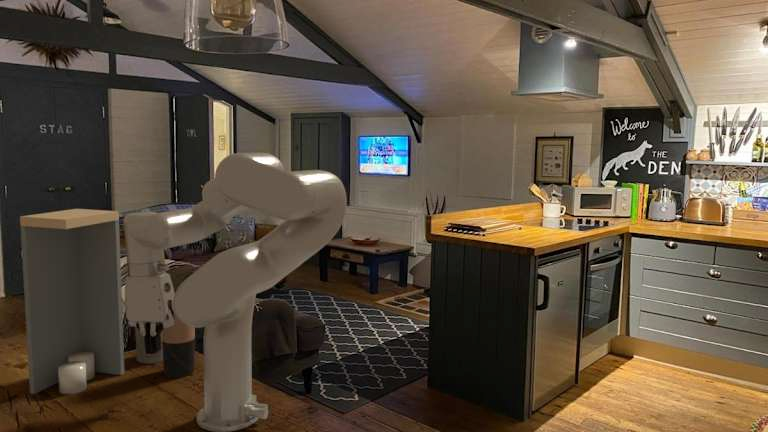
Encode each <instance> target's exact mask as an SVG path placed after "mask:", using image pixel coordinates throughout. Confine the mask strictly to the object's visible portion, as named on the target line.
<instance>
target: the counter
mask: <svg viewBox="0 0 768 432" xmlns="http://www.w3.org/2000/svg"><path fill="white" fill-rule="evenodd" d="M119 213H120V212H119V211H117V210H102V209H90V208H89V209H87V208H71V209H65V210H58V211H51V212H43V213H37V214H36V213H35V214H29V215H21V216H19V222H20V238H21V239H20V242H21V254H22V255H21V257H22V259H21V260H22V273H23V275H22V276H23V291H24V292H23V293H24V295H23V296H24V311H25V329H26V344H27V345H26V346H27V360H28V361H27V362H28V363H27V366H28V377H29V378H28V379H29V381H28V382H29V394H30V395H31V394H32V395H36V394H37V393H40V392H42V391H44V390H45V389H47V388H49V387H52V386H54V385H56V384H59V376H58V367H59V366H60V365H62V364H65V363H68V356H69V355H70V354H73V353H76V352H81V351H90V352H93V353H94V367H95V373H103V374H110V375H116V376H122V375H125V356H124V355H125V352H124V350H125V349H124V325H123V323H124V322H123V301H122V300H123V298H122V296H123V295H122V291H123V290H122V272H121V271H122V268H121V265H122V263H121V247H120V246H121V242H120V240H121V238H120V235H121V234H120V215H119Z"/></svg>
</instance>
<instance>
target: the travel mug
mask: <svg viewBox="0 0 768 432" xmlns="http://www.w3.org/2000/svg"><path fill="white" fill-rule="evenodd" d="M175 293H176V291H174V294H175ZM173 320H174V325H172V326H170V327H167V328H164V330H163V332H162V348H163V361H162V363H163V373H164V376H166V377H168V378H184V377H187V376H190V375H193V373H195V366H196V365H195V363H196V362H195V361H196V360H195V357H196V356H195V354H196V331H195V330H196V328H194V327H189V326H187V325H185V324H183V323H182V322H181V321H180V320H179V319H178V318H177V316H175V317H173ZM164 322H165V321H164Z"/></svg>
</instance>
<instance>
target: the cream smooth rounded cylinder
mask: <svg viewBox="0 0 768 432" xmlns="http://www.w3.org/2000/svg"><path fill="white" fill-rule="evenodd" d="M58 376H59V382H58V392H59V393H60V394H63V395H73V394H77V393H81V392H83V391H85V390H86V389H87V387H88V385H87V381H88V380H86V363H84V362H79V361H76V362H68V363H65V364H62V365H60V366H59V367H58Z"/></svg>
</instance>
